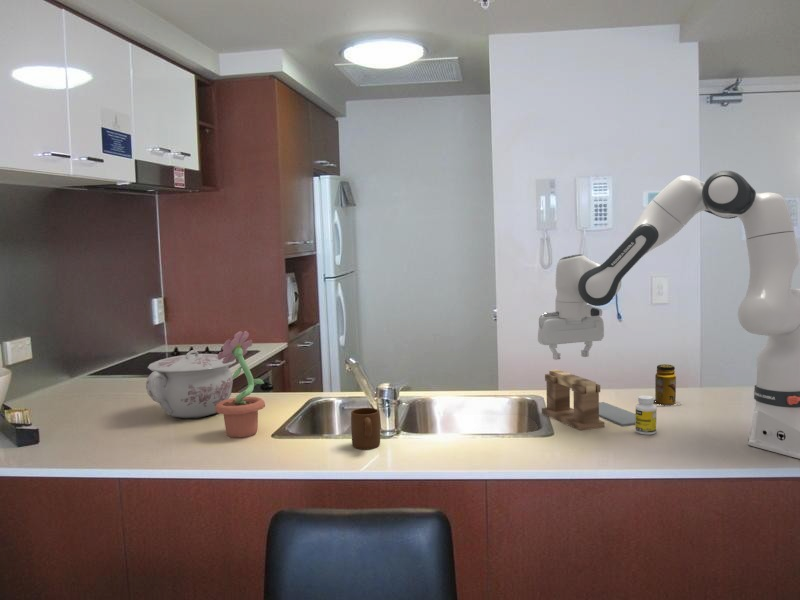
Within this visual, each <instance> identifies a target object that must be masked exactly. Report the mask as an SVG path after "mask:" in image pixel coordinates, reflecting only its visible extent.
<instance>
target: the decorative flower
mask: <svg viewBox="0 0 800 600" xmlns="http://www.w3.org/2000/svg"><path fill="white" fill-rule="evenodd" d="M249 335H250V333H249V332H248V331H247V330H245V331H244V332H243V331H238V332H236V333H235V334H234V335H233V339H232V340H231V339H227V340H225V342H224V344H223V345H222V348H221V349H222V351H219V353H218V359H219V360H220V359H222V358H224V357H225V358H224V359H223V361H222V363H223V364H225V363H229V362H233V361H234V360H235V359H236V360H237V362H238V364H239V365H240V366H239V367H238V368H237V369H236V370H235V371H234V373H232V379H235V378H237V377H238V376H239V375H240V374H241V372H242V371H243V374H244V375H245V377H246V381H247V388H246V389H245V390H243V391H241V392H240V393H239V394H237V395H236V397H232V398H231V397H230V398H229V399H226V400H223V401H221V402H219V403H217V404H216V407H215V411H216V412H217V413H216V414H221V415H223V420H224V427H225V433H226V436H228V437H230V438H234V439H235V438H238V439H239V438H247V437H252V436H254V435H255V434H256V433H257V432H258V429H259V428H258V427H259V414H258V412H259V411H260V410H263V409H264V408H265V407H266V402H265V401H264V399H262V398H261V397H256V396H249V395H251V394H252V393H253V391H254V387H255V384H257V385H264V384H265V382H264V380H263V379H261V378H254V376H253V373H252V372H251V370H250V367H249V365H248V364H247V362H246V360H245V358H244V356H245V355H247V353H248V348H250V347H252V346H253V340H252V339H249V340H247V339H248V338H249ZM246 340H247V341H246Z"/></svg>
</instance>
